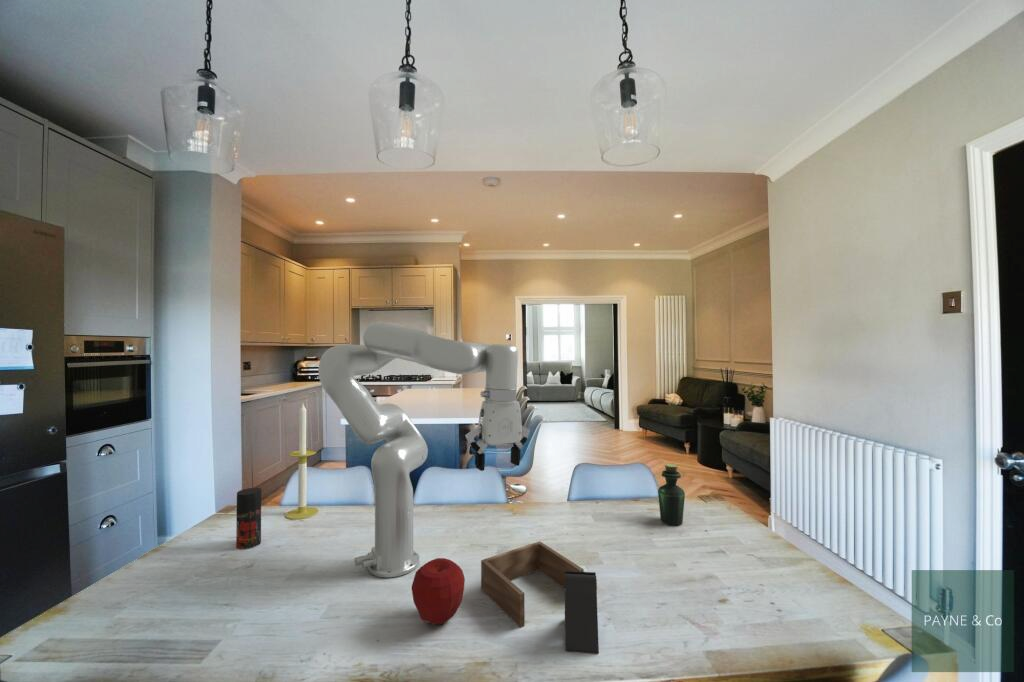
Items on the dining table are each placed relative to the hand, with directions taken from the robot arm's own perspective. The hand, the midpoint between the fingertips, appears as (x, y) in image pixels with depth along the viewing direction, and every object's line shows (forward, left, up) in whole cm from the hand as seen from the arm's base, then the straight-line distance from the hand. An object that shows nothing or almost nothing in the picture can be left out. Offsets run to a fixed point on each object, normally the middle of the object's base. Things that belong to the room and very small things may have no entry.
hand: (497, 466), depth 99 cm
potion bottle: (+63, -2, -27) cm, 69 cm away
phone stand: (+3, -25, -27) cm, 37 cm away
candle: (-34, +71, -27) cm, 83 cm away
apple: (-18, -5, -27) cm, 33 cm away
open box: (+3, -9, -27) cm, 29 cm away
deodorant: (-50, +55, -27) cm, 79 cm away
